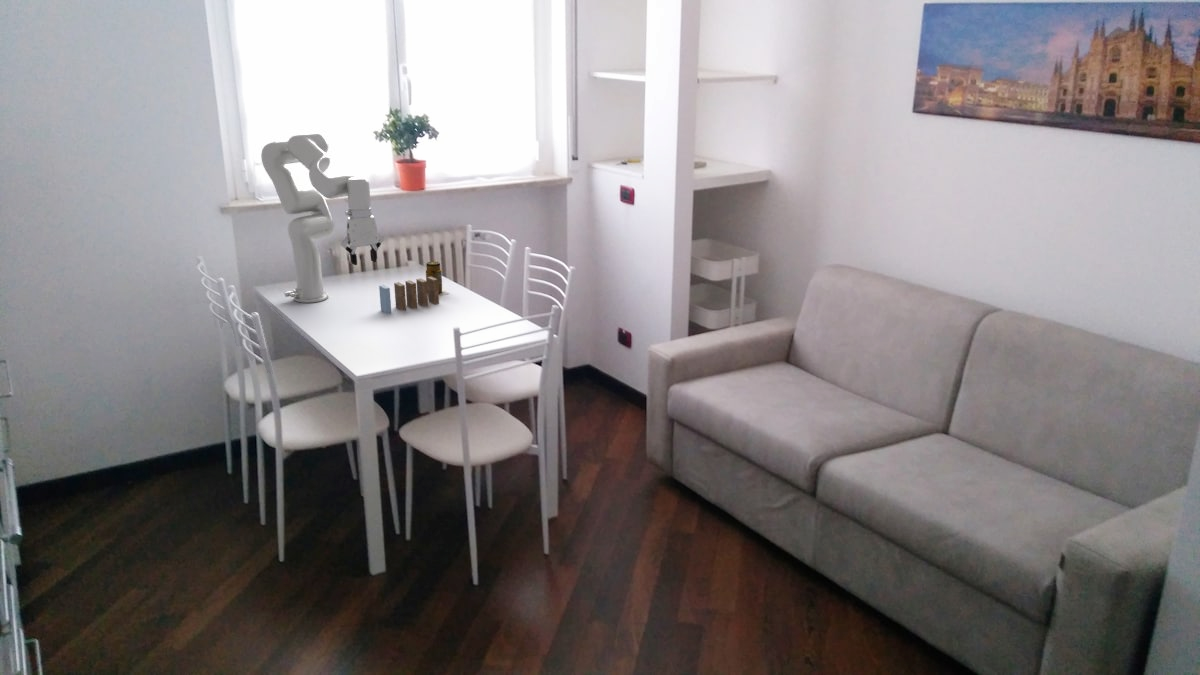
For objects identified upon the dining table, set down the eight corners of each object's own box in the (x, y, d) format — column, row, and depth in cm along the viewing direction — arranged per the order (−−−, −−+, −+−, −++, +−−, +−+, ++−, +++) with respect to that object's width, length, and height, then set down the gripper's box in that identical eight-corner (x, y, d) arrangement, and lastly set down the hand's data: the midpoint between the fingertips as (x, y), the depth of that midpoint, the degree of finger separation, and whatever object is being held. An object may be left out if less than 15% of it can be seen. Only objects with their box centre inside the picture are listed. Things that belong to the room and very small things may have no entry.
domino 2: (401, 310, 338) (400, 286, 335) (395, 307, 342) (394, 282, 339) (406, 309, 339) (404, 285, 336) (400, 306, 343) (398, 282, 340)
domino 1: (386, 313, 334) (385, 288, 331) (380, 310, 338) (379, 285, 335) (391, 312, 336) (389, 287, 332) (385, 309, 339) (383, 284, 336)
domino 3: (413, 308, 341) (411, 284, 337) (406, 305, 344) (405, 281, 341) (417, 307, 342) (415, 283, 338) (411, 304, 345) (409, 280, 342)
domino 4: (423, 306, 343) (422, 282, 340) (417, 303, 347) (416, 279, 344) (428, 305, 344) (426, 281, 341) (422, 302, 348) (420, 278, 345)
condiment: (438, 289, 365) (436, 259, 361) (449, 293, 359) (447, 264, 355) (421, 292, 361) (420, 262, 357) (432, 297, 355) (430, 267, 351)
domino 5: (434, 304, 346) (433, 280, 343) (428, 301, 349) (427, 277, 346) (439, 303, 347) (437, 279, 344) (432, 300, 350) (431, 276, 347)
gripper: (340, 218, 313) (345, 268, 319) (387, 212, 323) (391, 261, 329) (332, 214, 318) (336, 264, 324) (378, 208, 328) (382, 257, 334)
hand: (364, 262), depth 326 cm, fingers open, 6 cm apart
